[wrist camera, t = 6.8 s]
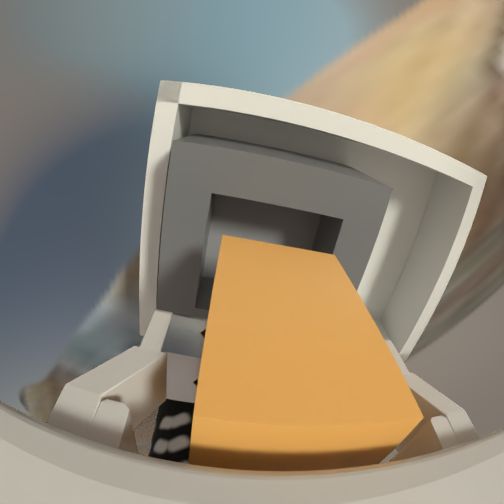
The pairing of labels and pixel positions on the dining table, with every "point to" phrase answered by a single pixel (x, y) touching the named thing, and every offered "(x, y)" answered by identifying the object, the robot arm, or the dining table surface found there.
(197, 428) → the plug
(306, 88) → the dining table surface
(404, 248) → the bay
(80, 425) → the robot arm
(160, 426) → the white-spotted black cylinder
